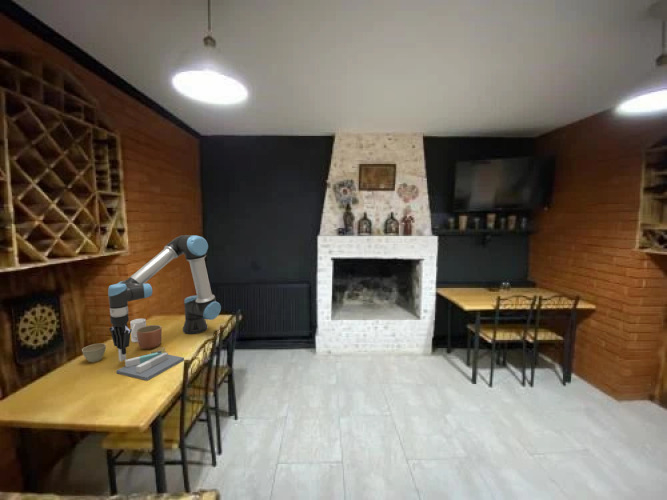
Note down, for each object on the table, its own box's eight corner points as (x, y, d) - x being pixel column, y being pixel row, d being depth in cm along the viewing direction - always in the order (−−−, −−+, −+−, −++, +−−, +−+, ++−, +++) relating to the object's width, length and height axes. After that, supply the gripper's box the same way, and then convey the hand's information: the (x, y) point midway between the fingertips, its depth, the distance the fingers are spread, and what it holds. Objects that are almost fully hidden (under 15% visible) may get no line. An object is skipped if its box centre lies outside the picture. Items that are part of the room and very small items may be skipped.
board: (157, 353, 176) (157, 344, 175) (186, 359, 169) (185, 349, 168) (116, 373, 154) (115, 362, 153) (147, 380, 147) (146, 369, 146)
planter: (140, 353, 176) (139, 334, 175) (135, 346, 185) (134, 328, 184) (164, 347, 184) (163, 328, 183) (159, 340, 194) (158, 323, 192)
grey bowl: (81, 360, 167) (80, 347, 166) (104, 354, 174) (103, 342, 174) (85, 366, 160) (83, 353, 159) (108, 360, 168) (107, 347, 167)
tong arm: (161, 356, 168) (161, 351, 168) (162, 358, 166) (162, 353, 166) (125, 365, 158) (125, 359, 158) (126, 367, 156) (125, 361, 156)
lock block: (160, 351, 174) (160, 346, 174) (165, 352, 173) (165, 347, 173) (151, 356, 168) (150, 351, 168) (156, 357, 167) (155, 352, 167)
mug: (138, 344, 188) (137, 324, 186) (124, 344, 188) (123, 324, 186) (150, 336, 199) (149, 318, 198) (136, 336, 199) (135, 318, 198)
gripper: (102, 315, 158) (106, 361, 160) (121, 318, 153) (124, 365, 156) (117, 311, 165) (120, 354, 167) (135, 314, 160) (138, 358, 163)
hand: (122, 359), depth 161 cm, fingers closed
